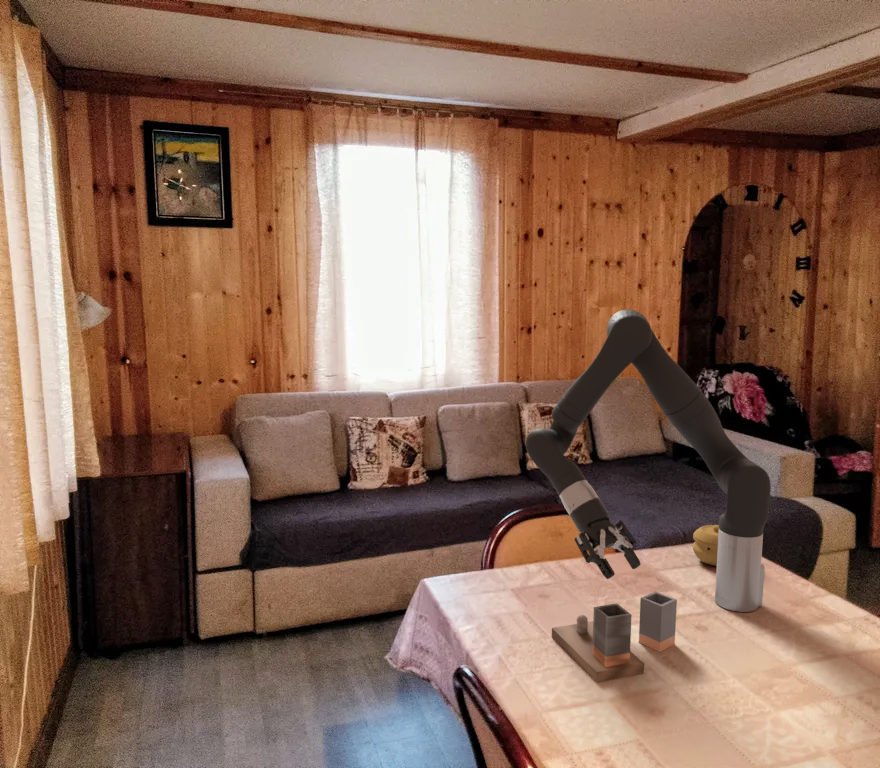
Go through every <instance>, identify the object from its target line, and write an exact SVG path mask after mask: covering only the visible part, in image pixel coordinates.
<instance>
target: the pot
mask: <svg viewBox="0 0 880 768" xmlns="http://www.w3.org/2000/svg"><path fill="white" fill-rule="evenodd" d="M718 532H719V524H710V525H709V524H707V525H703V526H700V527H699V528H697V529H696V530H695V531H694V532H693V535H692V538H693V540H694V542H693V543H692V550H693V552H694V554H695V556H696V558H698V559H699V561H701V562H703V563H704V564H707V565H711V566H715V567H717V551H718Z"/></svg>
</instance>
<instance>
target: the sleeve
mask: <svg viewBox="0 0 880 768" xmlns="http://www.w3.org/2000/svg"><path fill="white" fill-rule="evenodd" d="M639 601H640V603H639V604H640V605H639V625H638V626H639V631H638V643H639V644H642V645H644V646H646V647H648V648H650V649H652V650H655V651H656V652H658V653H661V652H663V651H664V650H666V649H669V648H670V647H672V646H674V645H675V643H676V642H675V641H676V628H677V627H676V625H677V623H676V622H677V604H678V603H677V602H678V601H677V599H676V598H673V597H670V596H668V595H666V594H663V593H661V592H658V591H656V590H655V591H654V592H650V593H649V594H646V595H644V596H642V597H640V600H639Z"/></svg>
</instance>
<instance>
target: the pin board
mask: <svg viewBox="0 0 880 768" xmlns="http://www.w3.org/2000/svg"><path fill="white" fill-rule="evenodd" d="M592 618H593V620H592V621H589V620H588V617H587V616H586V615H584V614H579V615H578V616H577V618H576V623H574V624H567V625H562V626H561V625H560V626H556V627H552V628H551V638H552V639H553V640H554V641H555V642H556V643H557V644H558V645H559V646H560V647H561V649H563V650H564V651H565V652H566V654H567V655H569V656H570V657H571V658H572V660H573V661H575V662H576V663H577V664H578V665H579V667H581V668H582V669H583V670H584V671H585V672H586V673H587V674H588V675H589V677H591V679H593V681H595V682H596V683H600V682H605V681H611V680H615V679H621V678H627V677H630V676H637V675H642V674H645V662H643V660H641V659H640V658H639V657H638V656H637V655H635V653H633V652H632V651H631V643H632V642H631V640H632V637H631V636H632V614H631V613H630V612H629V611H628V610H627V609H625V608H623V606H621V605H620V604H618V603H612V604H603V605H597V606H594V607H593V617H592Z"/></svg>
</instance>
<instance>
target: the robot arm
mask: <svg viewBox="0 0 880 768" xmlns="http://www.w3.org/2000/svg"><path fill="white" fill-rule="evenodd" d="M606 336H607V337H606V339H605V340H604V343H603V345H602V347H601V348H600V351H599V352H598V353H597V355H596V357H595V358H594V359H593V360H592V362H591V363H590V364H589V366H588V367H587V368H586V370H584V372H582V373H581V375H580V376H578V377H577V378H576V380H575V381H574V382H573V383H572V384H571V385H570V386H569V387H568V389H566V391H565V392H564V394H563V395H562V396H561V398H560V399H559V401H558V402H557V403H556V405H555V406H554V407H553V409H552V411H551V418H552V420H553V421H552V423H551V424H550V426H549V428H547V429H545V428H537V429H533V430H531V431H530V432H529V433H528V434H527V436H526V439H525V449H526V452H527V454H528V456H529V457H530V460H531V461H532V462H533V464H534V465H536V466H537V468H538V469H539V470H540V471H541V472H542V473H543V474H544V475H545V476H546V478H547V479H548V480H549V481H550V483H551V485H552V487H553V488H554V489H555V492H556V493H557V495H558V497H559V499H560V500H561V503H562V505H563V506H564V509H565V510H566V512H567V514H568V515H569V517H570V518H571V521H572V523H573V524H574V525H575V526H576V528H577V530H578V532H579V534H578V535H577V536H575V537H574V542H575V544H576V545H577V548H578V549H579V552H580V553H581V555H582V557H583V558H584V560H585V562H586V563H587V564H590V563H593V564H595V565H596V566H597V567H598V569H599V571H600V572H601V574H602V575H603V577H604V578H605V579H606V580H610V579H611V578H613V577H614V576H615V574H616V573H615V571H614V569H613V568H612V566H611V564H610V563H609V561H608V559H607V558H605V549H610V548H613V550H618V551H620V552H621V553H622V554H623V556H624V558H625V559H626V561H627V563H628V564H629V566H630V567H631V569H632V570H636V569H638V568H639V567H640V566H641V561H640V559H639V557H638V556H637V554H636V552H635V551H634V549H633V548H634V546H635V545H636V544H637V541H636V539H635V537H634V536H633V535H632V533H631V532H630V530H629V529H628V528H627V526H626V524H625V523H624V522H623V521H622V520H618V521H616V523H614V524H613V523H612V522H611V520H610V519H609V518H610V513H609V512H608V510H607V508H606V507H605V505H604V503H603V502H602V500H601V499H600V497H599V495H598V494H597V492H596V491H595V489H594V488H593V486H592V485H591V484H590V483H589V482H588V480H587V479H586V477H585V476H584V474H583V473H582V471H581V469H580V467H579V466H578V465H577V464H576V463H575V462H574V461H573V460H571V459H569V458H568V457H566V456H565V454H566V453H567V451H568V450H569V448H570V447H571V445H572V443H573V441H574V439H575V436H576V435H577V431H578V429H579V427H580V426H581V425H582V424H583V422H584V421H585V420H586V419H587V417H589V415H590V413H591V412H592V411H593V409H594V408H595V407H596V405H597V404H598V402H599V401H600V399H601V398H602V397H603V396H604V394H605V393H606V392H607V390H608V389H609V388H610V387H611V386H612V384H613V382H615V380H616V379H617V378H618V377H619V376H620V375H621V374H622V373H623V372H624V370H626V368H627V367H629V366H630V364H632V366H634V367H635V369H636V370H637V372H639V374H640V376H641V377H642V378H643V381H644V383H645V385H646V386H647V388H648V390H649V392H650V393H651V396H652V397H653V399H654V401H655V402H656V404H657V406H658V407H659V408H660V410H661V411H662V412H663V414H664V416H666V418H667V419H668V420H669V422H670V423H671V425H672V426H674V428H675V429H676V431H678V433H679V434H680V435H681V437H683V439H684V440H685V441H686V442H687V443H688V444H689V445H690V446H691V447H692V448H693V449H694V450H695V451H696V452H697V453H698V454H699V456H700V457H701V458H702V461H704V463H705V464H706V466H707V468H708V469H709V471H710V472H711V474H712V476H713V478H714V479H715V481H716V483H717V484H718V486H719V488H720V489H721V490H722V492H724V493H725V495H726V501H725V502H726V503H725V504H726V505H725V511H724V513H722V514H721V515H720V516H719V520H718V525H719V532H718V551H717V566H716V572H715V573H716V575H715V589H714V591H715V592H714V602H715V603H716V605H718V606H720V607H721V608H723V609H727V610H729V611H734V612H740V613H749V612H754V611H757V610H758V608H759V607H762V606H763V597H764V586H765V585H764V584H765V583H764V582H765V581H764V580H765V565H764V564H763V563H762V558H763V557H762V556H763V543H764V541H763V540H764V539H763V538H764V528H765V526H766V524H767V522H768V518H769V510H770V501H771V480H770V479H771V478H770V475H769V474H768V472H767V471H766V470H765V469H764V468H763V467H761V466H760V465H758V464H757V463H755V462H754V461H752V460H750V459H749V458H748V457H747V456H746V455H745V454H744V453H743V452H741V450H739V448H738V447H737V446H736V445H735V444H734V442H733V441H732V440H731V439H730V438H729V437H728V435H727V433H726V432H725V430H724V428H723V426H722V423H721V421H720V419H719V417H718V414H717V412H716V410H715V408H714V407H713V405H712V404H711V402H710V401H709V399H708V398H707V397H706V395H705V394H704V392H703V391H702V390H701V389H700V388H699V387H698V385H697V384H696V383H695V382H694V381H693V380H692V378H691V377H690V376H689V375H688V374H687V373H686V371H684V369H683V368H682V367H681V366H680V365H679V364H678V363H677V362H675V360H674V359H673V358H672V357H671V356H670V355H669V354H668V352H667V351H666V349H664V347H663V345H662V344H661V343H660V341H659V339H658V338H657V336H656V335H655V332H654V331H653V329H652V326H651V324H650V322H649V321H648V319H647V317H645V316H644V315H643V314H642V313H641V312H639V311H637V310H633V309H622V310H621V309H620V310H619V311H617V312H615V313H614V314H613V315H612V316H611V317H610V318H609V321H608V323H607V327H606Z"/></svg>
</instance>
